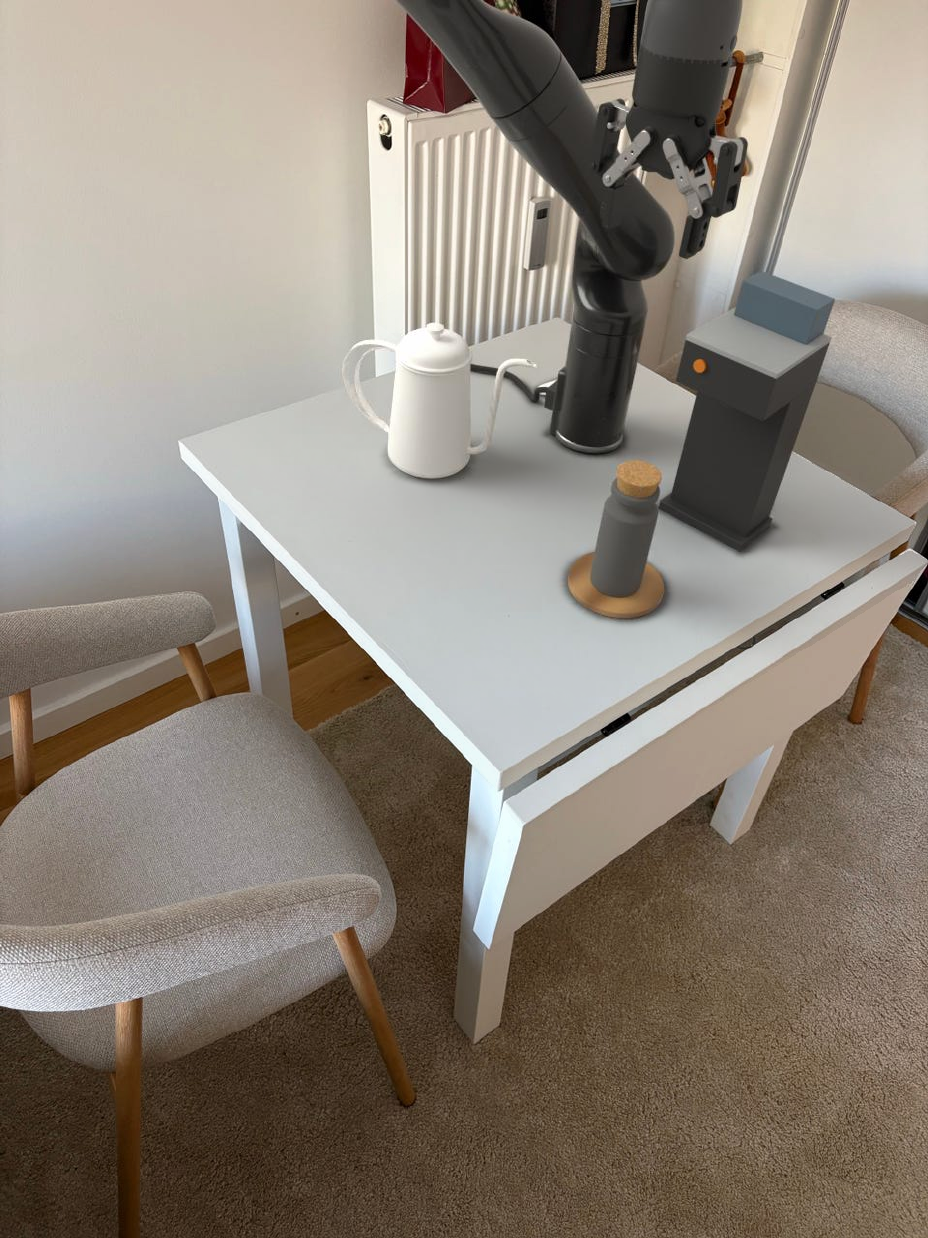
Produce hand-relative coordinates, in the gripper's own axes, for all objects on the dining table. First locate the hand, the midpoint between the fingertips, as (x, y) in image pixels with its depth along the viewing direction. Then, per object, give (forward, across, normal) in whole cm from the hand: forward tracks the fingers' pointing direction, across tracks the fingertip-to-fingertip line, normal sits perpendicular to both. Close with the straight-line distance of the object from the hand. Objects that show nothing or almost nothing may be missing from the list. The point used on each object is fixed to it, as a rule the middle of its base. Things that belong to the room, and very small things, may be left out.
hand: (648, 240), depth 91 cm
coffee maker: (+38, +6, +16) cm, 42 cm away
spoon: (+38, -26, +34) cm, 57 cm away
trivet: (+38, +5, -2) cm, 39 cm away
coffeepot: (+38, -27, +1) cm, 47 cm away
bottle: (+38, +5, -2) cm, 38 cm away
